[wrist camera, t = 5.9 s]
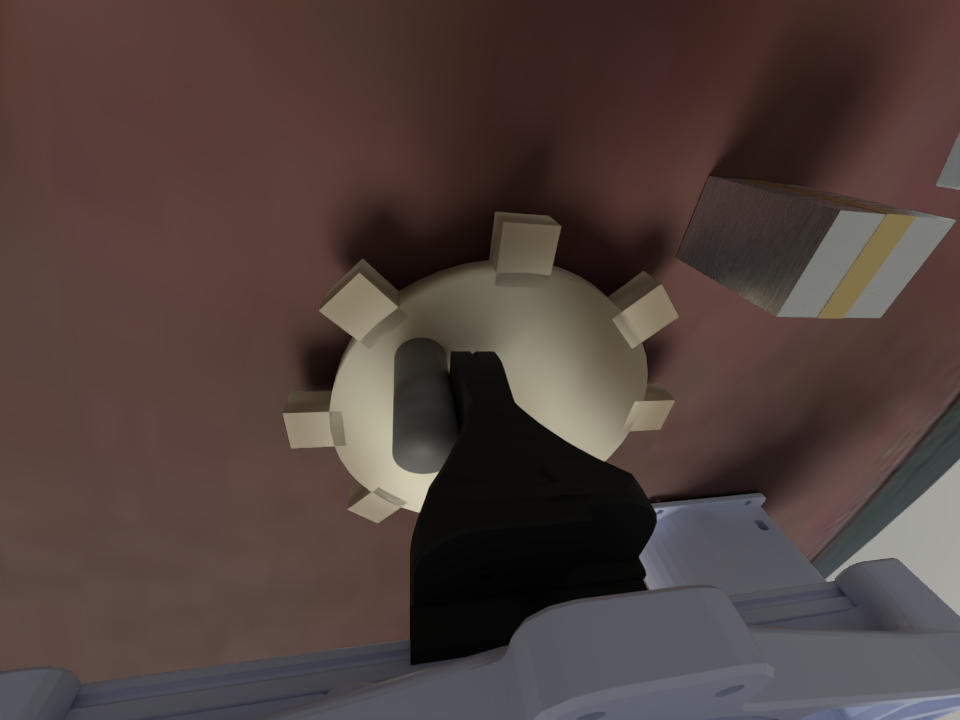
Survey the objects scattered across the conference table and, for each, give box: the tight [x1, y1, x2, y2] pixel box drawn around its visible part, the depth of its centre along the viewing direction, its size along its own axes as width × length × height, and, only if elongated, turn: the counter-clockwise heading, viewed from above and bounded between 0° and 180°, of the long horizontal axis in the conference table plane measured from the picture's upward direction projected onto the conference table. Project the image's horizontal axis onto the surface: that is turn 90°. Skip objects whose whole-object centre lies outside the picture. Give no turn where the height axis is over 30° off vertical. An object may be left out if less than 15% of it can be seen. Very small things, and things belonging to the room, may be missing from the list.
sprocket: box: [283, 212, 679, 523], centre depth 14 cm, size 16×16×5 cm
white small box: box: [676, 176, 956, 318], centre depth 13 cm, size 4×3×5 cm
